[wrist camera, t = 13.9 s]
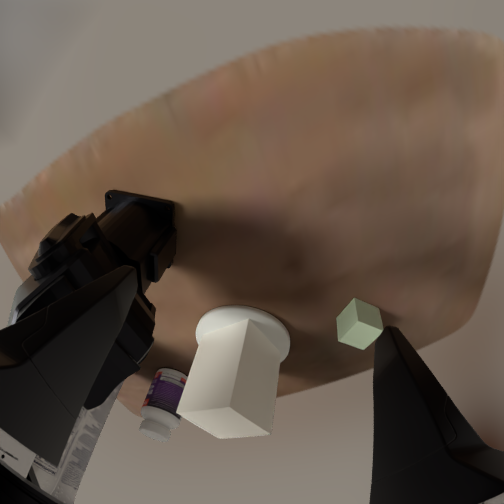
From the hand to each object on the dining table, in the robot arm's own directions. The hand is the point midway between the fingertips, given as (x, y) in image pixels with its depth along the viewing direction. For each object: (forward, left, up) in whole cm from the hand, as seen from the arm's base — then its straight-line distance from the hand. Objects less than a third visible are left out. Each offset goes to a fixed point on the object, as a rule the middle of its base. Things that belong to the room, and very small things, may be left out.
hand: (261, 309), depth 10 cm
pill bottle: (-8, -31, -13) cm, 35 cm away
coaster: (0, -18, -13) cm, 22 cm away
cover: (0, -18, -12) cm, 22 cm away
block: (+10, -11, -13) cm, 20 cm away
